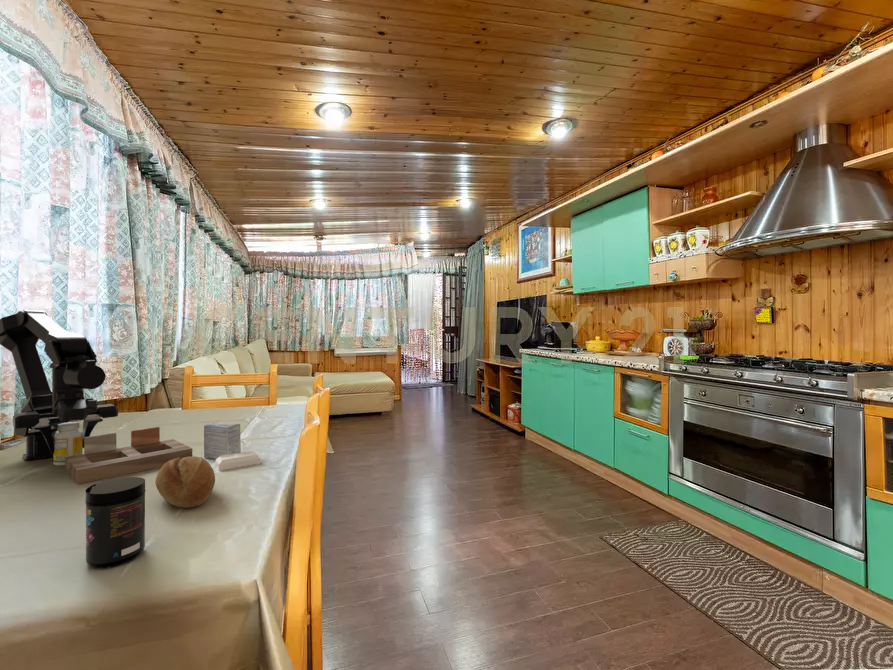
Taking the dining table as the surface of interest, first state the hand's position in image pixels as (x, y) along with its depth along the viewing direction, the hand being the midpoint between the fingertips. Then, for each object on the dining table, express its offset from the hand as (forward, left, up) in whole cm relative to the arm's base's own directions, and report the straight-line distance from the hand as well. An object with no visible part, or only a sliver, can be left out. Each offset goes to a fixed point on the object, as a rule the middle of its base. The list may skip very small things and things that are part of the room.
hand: (68, 450), depth 103 cm
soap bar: (+33, +26, -4) cm, 43 cm away
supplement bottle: (0, 0, -3) cm, 3 cm away
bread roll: (+47, +10, -3) cm, 48 cm away
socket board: (+14, +9, -3) cm, 17 cm away
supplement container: (+63, -4, -3) cm, 63 cm away
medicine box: (+24, +26, -3) cm, 36 cm away
